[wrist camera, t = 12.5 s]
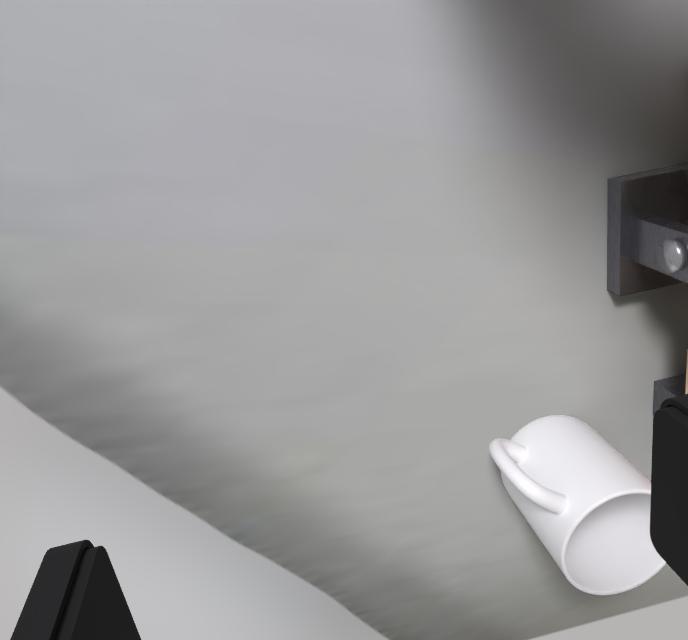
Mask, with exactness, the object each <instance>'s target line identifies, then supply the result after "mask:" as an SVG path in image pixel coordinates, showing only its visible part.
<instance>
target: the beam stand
mask: <svg viewBox="0 0 688 640" xmlns="http://www.w3.org/2000/svg"><path fill="white" fill-rule="evenodd" d="M682 282H686V283H688V163H687V164H682V165H677V166H672V167H667V168H661V169H656V170H651V171H646V172H641V173H636V174H630V175H625V176H620V177H615V178H610V179H608V251H607V290H609V291H611V292H613V293H614V294H616V295H618V296H622V295H627V294H632V293H636V292H641V291H645V290H650V289H655V288H659V287H664V286H669V285H673V284H678V283H682ZM685 390H686V374H684V375H679V376H675V377H671V378H667V379H662V380H658V381H654V400H653V415H654V414H655V412H656V411H657V410H659V409H660V406H661V404H662V402H663V401H664V400H666V399H668V398H672V397H676V396H680V395H684V394H685Z"/></svg>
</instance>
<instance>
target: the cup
mask: <svg viewBox="0 0 688 640" xmlns="http://www.w3.org/2000/svg"><path fill="white" fill-rule="evenodd" d="M489 451H490V454H491V456H492V458H493V460H494V461H495V463H496V464H497V466H498V467H499V468H500V470H501V477H502V481H503V484H504V486H505V488H506V490H507V492H508V494H509V495H510V497H511V498H512V500H513V501H514V503H515V504H516V506H517V507H518V508H519V510H520V511H521V513H522V514H523V516H524V517H525V519H526V520H527V521H528V523H529V524H530V526H531V527H532V529H533V530H534V532H535V533H536V534H537V536H538V537H539V539H540V540H541V542H542V543H543V545H544V546H545V547H546V549H547V550H548V552H549V553H550V555H551V556H552V558H553V559H554V560H555V562H556V563H557V565H558V566H559V568H560V569H561V571H562V572H563V573H564V575H565V576H566V578H567V579H568V581H569V582H570V583H571V584H572V585H573V586H575V587H576V588H578V589H579V590H581V591H583V592H586V593H589V594H594V595H613V594H618V593H622V592H626V591H628V590H631V589H633V588H635V587H638V586H639V585H641V584H643V583H645V582H646V581H648V580H649V579H650V578H652V577H653V576H654V575H655V574H657V573H658V572H659V571H660V570H661V569H662V568H663V567H664V565H665V564H666V562H665V561H664V560H663V558H662V557H661V556H660V555H659V554H658V553H657V551H656V549H655V548H654V546H653V544H652V541H651V537H650V505H651V482H650V481H649V480H648V479H647V478H646V477H645V476H644V475H643V474H641V473H640V472H639V471H638V470H637V469H636V468H635V467H634V466H633V465H632V464H631V463H630V462H628V461H627V460H626V459H625V458H624V457H623V456H622V455H621V454H620V453H619V452H618V451H617V450H616V449H614V448H613V447H612V446H611V445H610V444H609V443H608V442H607V441H606V440H605V439H604V438H603V437H601V436H600V435H599V434H598V433H597V432H596V431H595V430H594V429H593V428H591V427H590V426H589V425H588V424H586V423H585V422H583V421H581V420H579V419H577V418H574V417H571V416H566V415H551V416H545V417H542V418H539V419H536V420H534V421H532V422H530V423H528V424H527V425H525V426H524V427H523V428H521V429H520V430H519V431H518V432H517V433H516V434H515V435H514V436H513V437H512V439H511V440H507V439H501V438H497V439H494V440H493V441H492V442H491V443H490V445H489Z"/></svg>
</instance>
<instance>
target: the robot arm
mask: <svg viewBox="0 0 688 640" xmlns="http://www.w3.org/2000/svg"><path fill="white" fill-rule="evenodd" d="M650 537H651V541H652V544H653V546H654V548H655V549H656V551H657V553H658V554H659V555H660V556H661V557H662V558H663V560H664V561H665V562H666V563H667V564H668V565H669V566H670V567H671V568H672V569H673V570H674V571H675V572H676V574H677V575H678V576H679V577H680V578H681V579H682V580H683V581H684V582H685V583H686V584H687V585H688V394H684V395H680V396H676V397H672V398H668V399H666V400H664V401H663V402H662V404H661V406H660V409H659V410H657V411H656V412H655V414H654V418H653V445H652V475H651V505H650ZM10 640H141V638H140V635H139V633H138V631H137V628H136V625H135V623H134V620H133V618H132V615H131V612H130V610H129V607H128V605H127V602H126V600H125V597H124V595H123V592H122V590H121V587H120V584H119V582H118V579H117V577H116V574H115V572H114V569H113V567H112V564H111V561H110V559H109V556H108V554H107V552H106V549H105V548H104V547H103V546H98V547H94V546H93V544H92V543H91V542H90V541H89V540H83V541H78V542H74V543H70V544H66V545H62V546H58V547H54V548H50V549H49V550H47V552H46V554H45V556H44V558H43V561H42V563H41V566H40V568H39V570H38V573H37V575H36V578H35V580H34V583H33V585H32V588H31V590H30V593H29V595H28V598H27V600H26V602H25V605H24V607H23V610H22V612H21V615H20V617H19V620H18V622H17V625H16V627H15V630H14V632H13V635H12V637H11V639H10Z"/></svg>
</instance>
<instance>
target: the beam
mask: <svg viewBox="0 0 688 640" xmlns="http://www.w3.org/2000/svg"><path fill="white" fill-rule="evenodd" d="M685 394H688V351H687V370H686V390H685Z"/></svg>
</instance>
